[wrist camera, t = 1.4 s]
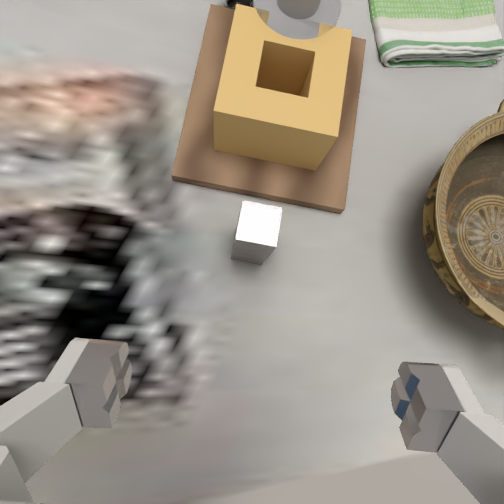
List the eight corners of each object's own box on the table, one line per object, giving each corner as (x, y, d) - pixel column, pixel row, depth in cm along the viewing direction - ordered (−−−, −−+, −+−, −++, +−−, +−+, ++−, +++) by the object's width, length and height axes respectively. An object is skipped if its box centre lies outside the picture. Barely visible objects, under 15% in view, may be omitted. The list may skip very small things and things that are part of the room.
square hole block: (213, 149, 42) (212, 0, 22) (242, 14, 46) (261, -215, 26) (315, 170, 43) (399, 43, 23) (335, 36, 46) (422, -172, 27)
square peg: (230, 258, 41) (235, 239, 32) (236, 228, 42) (242, 200, 32) (261, 264, 42) (276, 246, 32) (267, 234, 42) (282, 207, 33)
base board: (173, 180, 42) (171, 175, 41) (211, 13, 47) (211, 4, 46) (340, 213, 44) (344, 209, 42) (361, 48, 48) (366, 39, 47)
